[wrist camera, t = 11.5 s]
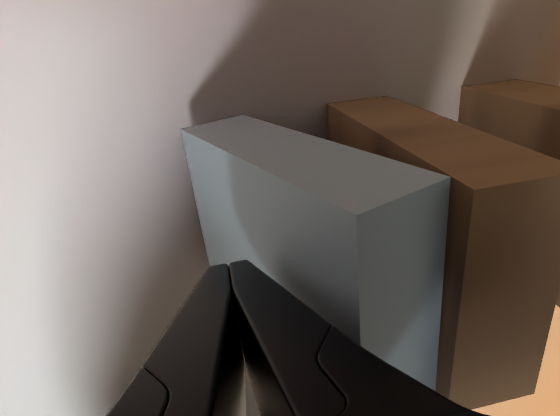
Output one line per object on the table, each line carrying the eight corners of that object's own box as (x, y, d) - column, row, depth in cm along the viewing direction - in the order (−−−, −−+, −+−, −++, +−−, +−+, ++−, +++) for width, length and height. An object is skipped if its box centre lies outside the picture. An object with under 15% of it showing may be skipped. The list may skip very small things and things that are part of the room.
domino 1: (262, 254, 15) (435, 394, 9) (211, 275, 14) (363, 447, 8) (242, 114, 13) (450, 176, 7) (180, 129, 12) (356, 215, 6)
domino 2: (384, 232, 16) (533, 393, 9) (332, 241, 15) (446, 415, 9) (387, 95, 13) (587, 170, 7) (327, 103, 13) (474, 189, 6)
